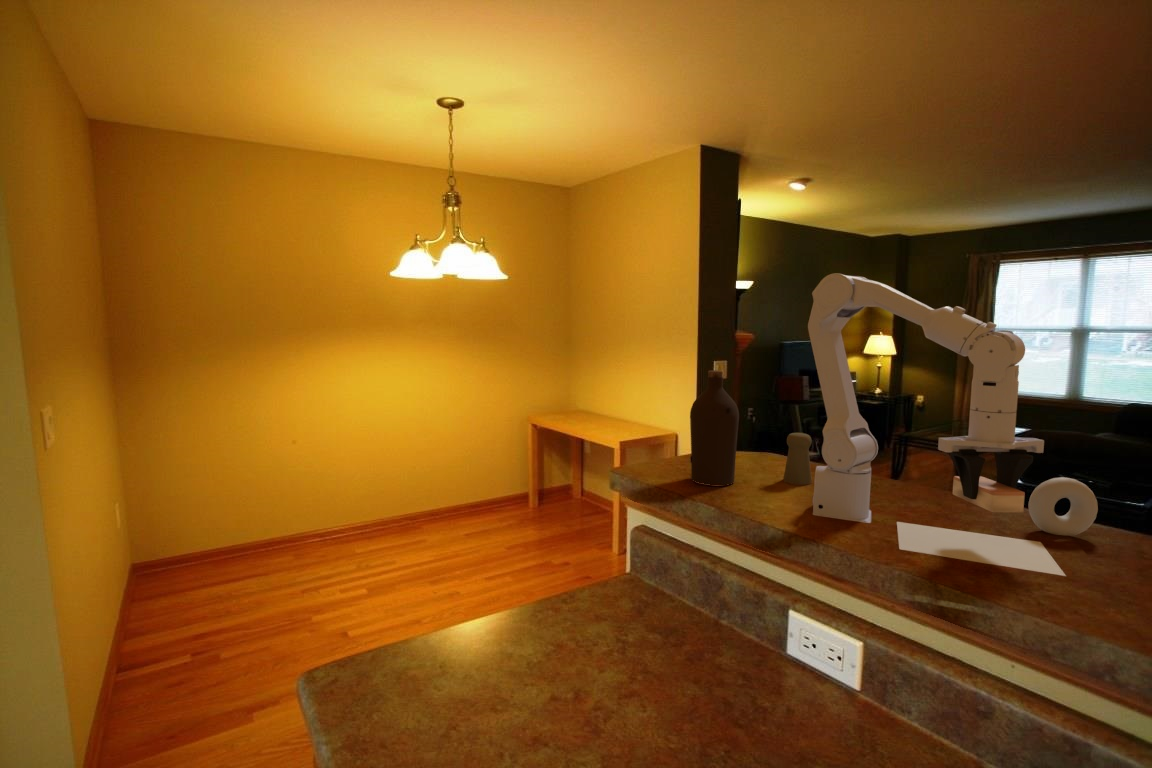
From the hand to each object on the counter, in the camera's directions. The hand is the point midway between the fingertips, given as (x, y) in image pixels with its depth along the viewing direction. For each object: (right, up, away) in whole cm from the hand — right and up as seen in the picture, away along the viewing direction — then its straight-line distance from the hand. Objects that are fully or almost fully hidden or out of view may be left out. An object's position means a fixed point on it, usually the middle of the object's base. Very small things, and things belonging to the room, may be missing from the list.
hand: (986, 497), depth 87 cm
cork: (-13, -5, +41) cm, 43 cm away
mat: (-1, -8, +1) cm, 9 cm away
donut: (+17, -8, +7) cm, 21 cm away
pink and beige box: (0, -1, 0) cm, 1 cm away
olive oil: (-33, -5, +41) cm, 52 cm away
